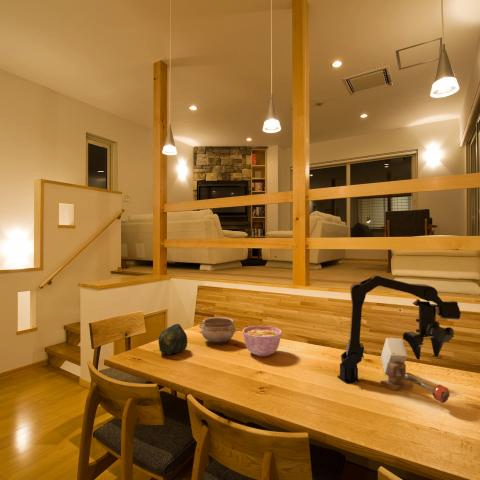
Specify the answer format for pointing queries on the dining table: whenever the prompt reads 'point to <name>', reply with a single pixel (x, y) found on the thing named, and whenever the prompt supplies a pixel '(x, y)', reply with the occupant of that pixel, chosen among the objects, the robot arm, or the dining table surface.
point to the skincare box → (393, 352)
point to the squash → (172, 340)
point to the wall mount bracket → (396, 376)
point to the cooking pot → (218, 329)
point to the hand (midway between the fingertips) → (427, 357)
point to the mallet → (432, 389)
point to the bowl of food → (262, 339)
